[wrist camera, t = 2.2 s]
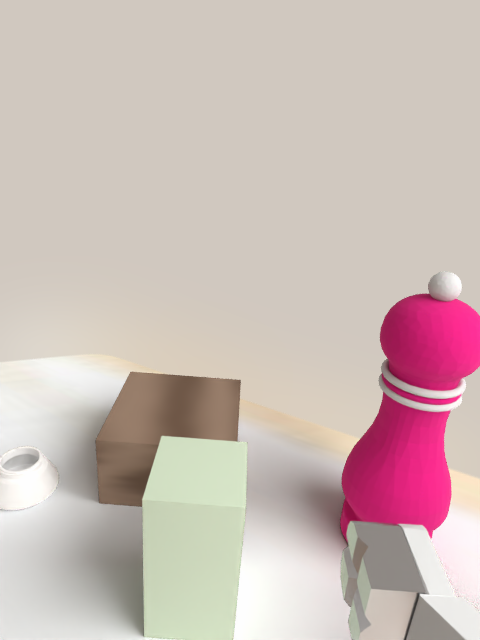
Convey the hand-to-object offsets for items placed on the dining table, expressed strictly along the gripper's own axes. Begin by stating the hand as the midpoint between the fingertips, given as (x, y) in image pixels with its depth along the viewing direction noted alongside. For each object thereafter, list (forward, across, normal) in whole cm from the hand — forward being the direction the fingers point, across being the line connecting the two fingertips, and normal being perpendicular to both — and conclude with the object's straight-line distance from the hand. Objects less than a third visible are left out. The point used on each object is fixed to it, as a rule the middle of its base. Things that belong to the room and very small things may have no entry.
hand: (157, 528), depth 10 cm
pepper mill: (+18, -13, +19) cm, 29 cm away
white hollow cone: (+20, +14, +19) cm, 31 cm away
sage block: (+12, 0, +19) cm, 22 cm away
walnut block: (+24, +3, +19) cm, 31 cm away
